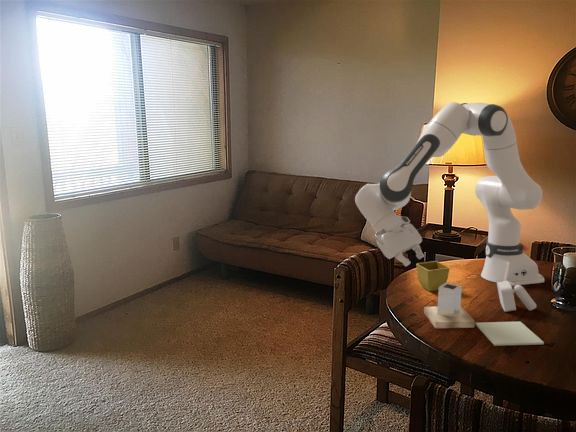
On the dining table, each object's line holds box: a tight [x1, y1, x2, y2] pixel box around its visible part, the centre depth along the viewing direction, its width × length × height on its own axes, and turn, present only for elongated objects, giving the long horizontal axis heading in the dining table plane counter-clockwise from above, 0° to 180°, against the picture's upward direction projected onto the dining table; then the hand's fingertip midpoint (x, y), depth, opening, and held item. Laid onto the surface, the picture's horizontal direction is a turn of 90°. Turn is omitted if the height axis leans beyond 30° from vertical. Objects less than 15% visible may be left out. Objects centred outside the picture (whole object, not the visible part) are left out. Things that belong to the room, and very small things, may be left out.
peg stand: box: [423, 305, 476, 329], centre depth 160 cm, size 12×12×9 cm
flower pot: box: [415, 260, 450, 292], centre depth 186 cm, size 9×9×9 cm
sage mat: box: [475, 321, 545, 347], centre depth 150 cm, size 14×14×1 cm
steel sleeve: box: [437, 282, 463, 318], centre depth 159 cm, size 5×5×9 cm
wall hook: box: [496, 281, 537, 313], centre depth 167 cm, size 8×10×10 cm
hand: (415, 261), depth 165 cm, fingers open, 8 cm apart
